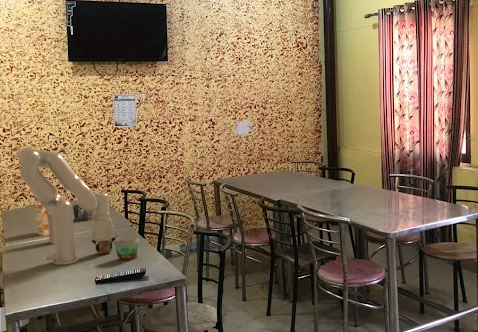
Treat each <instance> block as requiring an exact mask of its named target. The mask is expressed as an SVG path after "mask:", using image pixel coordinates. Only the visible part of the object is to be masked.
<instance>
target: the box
mask: <svg viewBox="0 0 478 332" xmlns="http://www.w3.org/2000/svg"><path fill="white" fill-rule="evenodd" d="M72 208H73V216H74V217H73V220H74V221H76V222H77V221H82V222H84V221H85V222H88V221H91V220H94V218H92V216H93V215H94V214H93V210H92V211H88V210H85V209H83V208H81V207H80V206H79V205H78V204H77V203H76V204H74V205H72Z"/></svg>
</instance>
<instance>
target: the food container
mask: <svg viewBox="0 0 478 332" xmlns="http://www.w3.org/2000/svg"><path fill="white" fill-rule="evenodd" d="M138 243H139V238H138V237H136V238H134V239H133V238H132V239H129V238H128V239H127V238H126V239H122V240H119V241H118V240H116V239H115V240H114V241H113V245H114V247H115V251H116V255H117V256H116V257H117V260H118V261H122V262H129V261H133V260H136V259H137V258H138ZM135 258H136V259H135Z"/></svg>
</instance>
